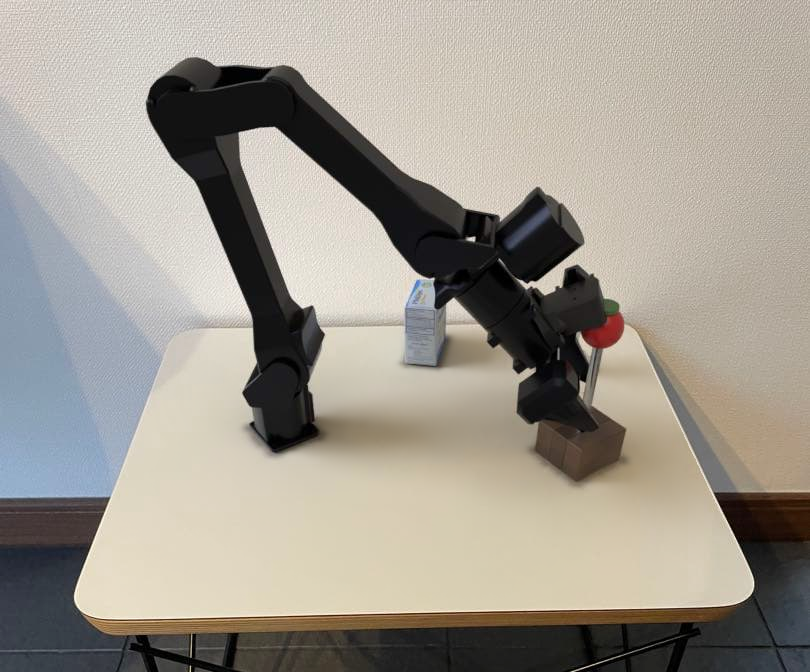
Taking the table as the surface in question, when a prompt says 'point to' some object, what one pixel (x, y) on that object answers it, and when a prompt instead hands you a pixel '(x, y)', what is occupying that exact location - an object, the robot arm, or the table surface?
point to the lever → (601, 345)
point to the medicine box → (423, 325)
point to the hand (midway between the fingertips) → (594, 404)
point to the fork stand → (580, 445)
